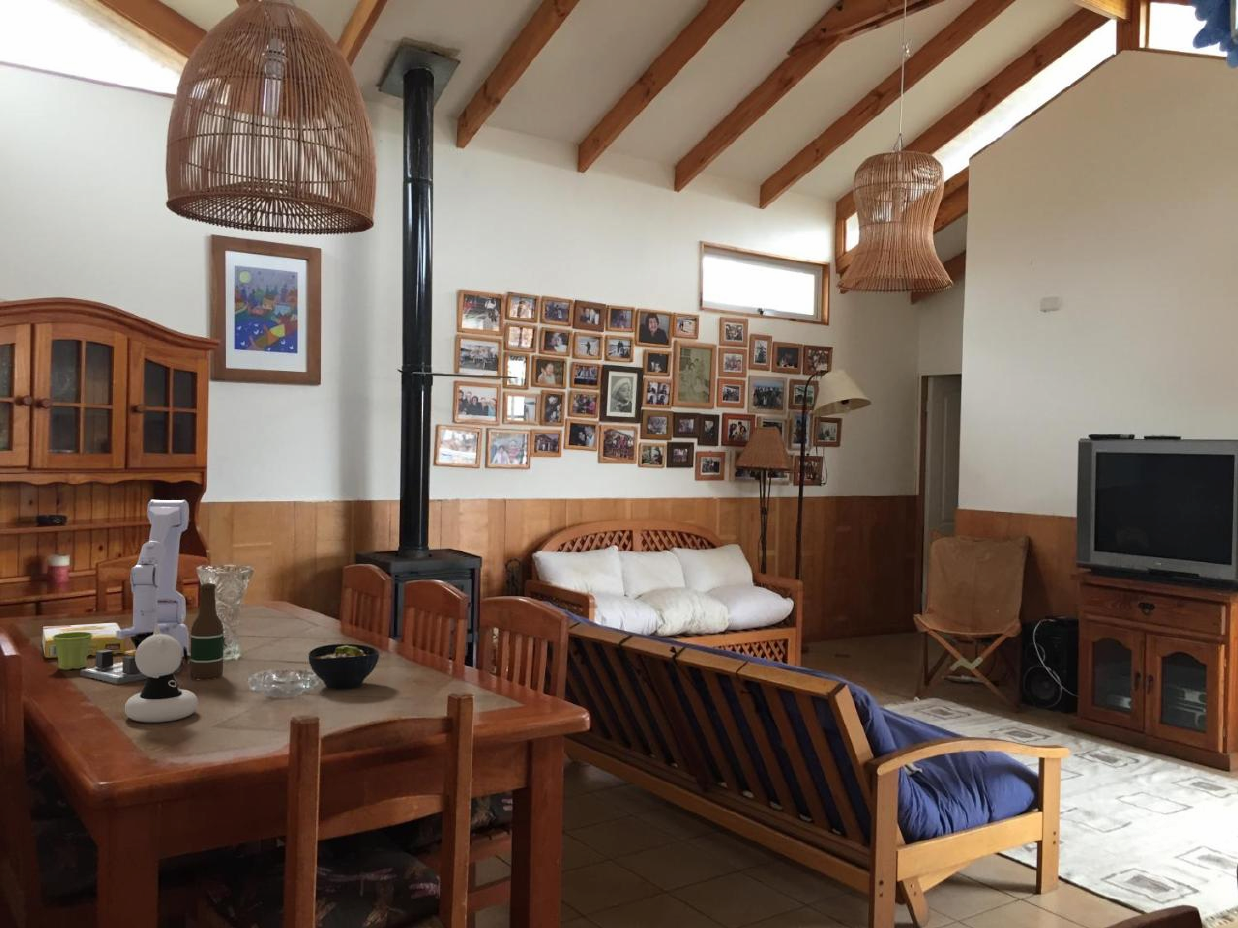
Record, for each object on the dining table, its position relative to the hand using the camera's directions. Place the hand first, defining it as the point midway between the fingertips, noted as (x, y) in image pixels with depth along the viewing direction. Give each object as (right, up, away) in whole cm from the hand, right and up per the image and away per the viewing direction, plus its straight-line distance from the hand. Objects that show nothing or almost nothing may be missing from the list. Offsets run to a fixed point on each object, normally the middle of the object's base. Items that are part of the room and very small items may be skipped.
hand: (144, 662), depth 260 cm
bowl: (+55, -4, -11) cm, 57 cm away
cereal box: (-32, -2, +30) cm, 44 cm away
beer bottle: (+18, -3, -5) cm, 19 cm away
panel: (-2, -2, -3) cm, 4 cm away
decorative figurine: (+24, -4, -42) cm, 49 cm away
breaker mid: (-2, -1, -3) cm, 3 cm away
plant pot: (-21, -2, +3) cm, 21 cm away
